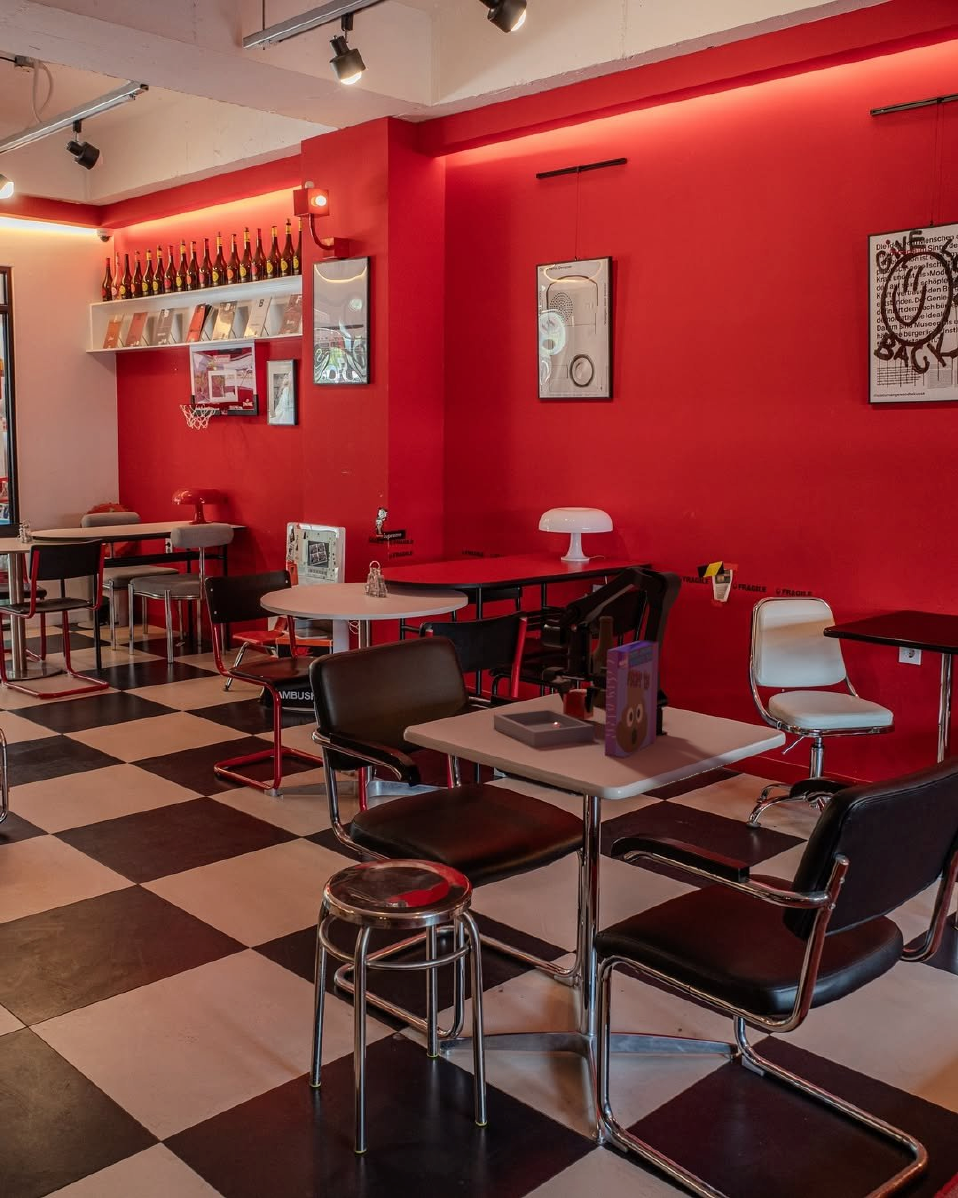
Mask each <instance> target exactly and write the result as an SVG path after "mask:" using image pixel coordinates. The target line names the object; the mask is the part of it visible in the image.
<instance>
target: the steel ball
mask: <svg viewBox="0 0 958 1198" xmlns="http://www.w3.org/2000/svg"><path fill="white" fill-rule="evenodd" d="M557 728H564V726H563V725H562V724H561V723H559V722H556V723H554V724H553V725H552V727H551V729H557Z"/></svg>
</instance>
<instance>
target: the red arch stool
mask: <svg viewBox="0 0 958 1198" xmlns="http://www.w3.org/2000/svg"><path fill="white" fill-rule="evenodd" d="M562 703H563V709H562V713H563V714H565V715H568V716H570V717H573V718H575V719H578V720H580V719H581V720H580V721H585V720H589V719H590V718H593V717H594V716H595V715H594V711H595V708H594V707H595V706H593V708H592V711H591V712H590V713H588V710H587V691H580V690H570V692H567V693H564V699H563V702H562Z"/></svg>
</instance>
